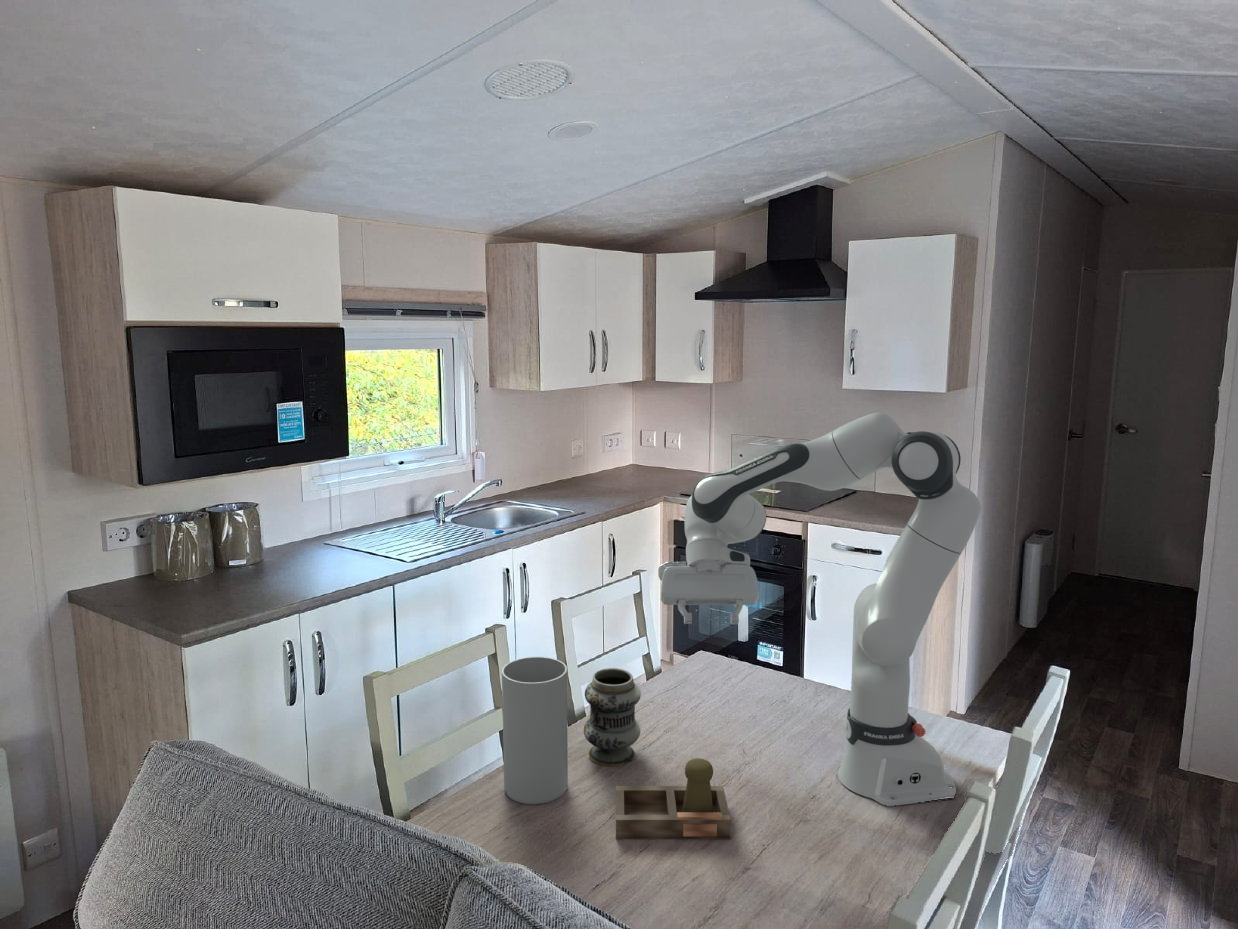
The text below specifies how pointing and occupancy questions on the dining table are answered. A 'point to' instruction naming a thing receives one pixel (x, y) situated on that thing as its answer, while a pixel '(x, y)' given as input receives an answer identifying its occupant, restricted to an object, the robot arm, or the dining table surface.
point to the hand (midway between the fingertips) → (711, 622)
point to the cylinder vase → (535, 729)
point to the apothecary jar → (612, 717)
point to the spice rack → (668, 814)
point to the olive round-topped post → (698, 786)
